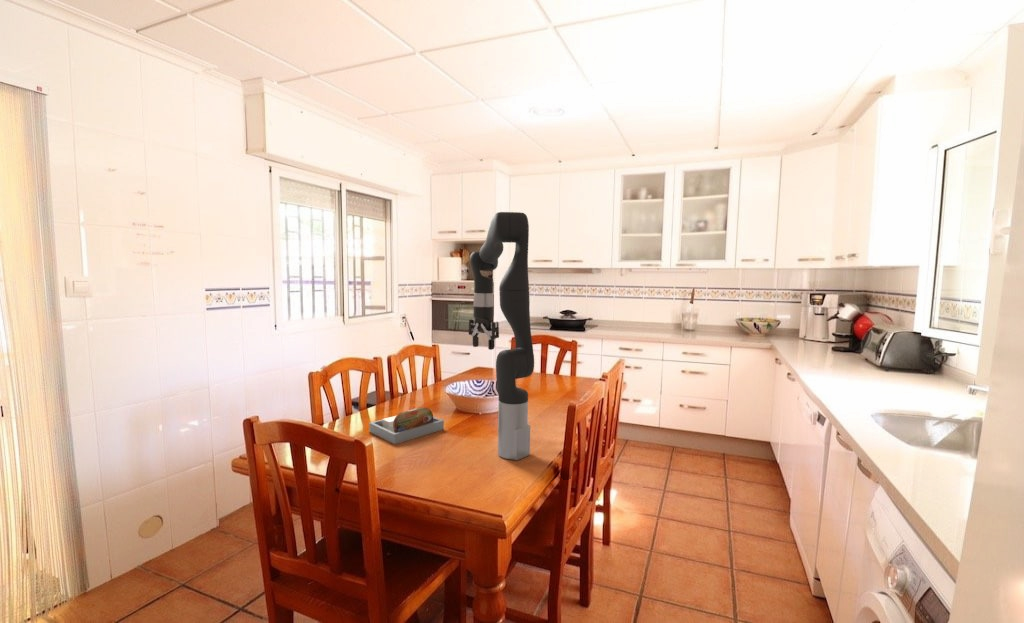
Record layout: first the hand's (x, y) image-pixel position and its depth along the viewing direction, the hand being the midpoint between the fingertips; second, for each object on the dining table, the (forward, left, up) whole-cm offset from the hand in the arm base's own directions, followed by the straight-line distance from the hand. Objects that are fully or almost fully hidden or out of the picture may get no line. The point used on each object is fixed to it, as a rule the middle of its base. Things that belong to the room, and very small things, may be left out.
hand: (483, 348), depth 172 cm
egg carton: (+13, +28, -27) cm, 41 cm away
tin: (+5, +28, -28) cm, 40 cm away
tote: (+9, +28, -28) cm, 41 cm away
